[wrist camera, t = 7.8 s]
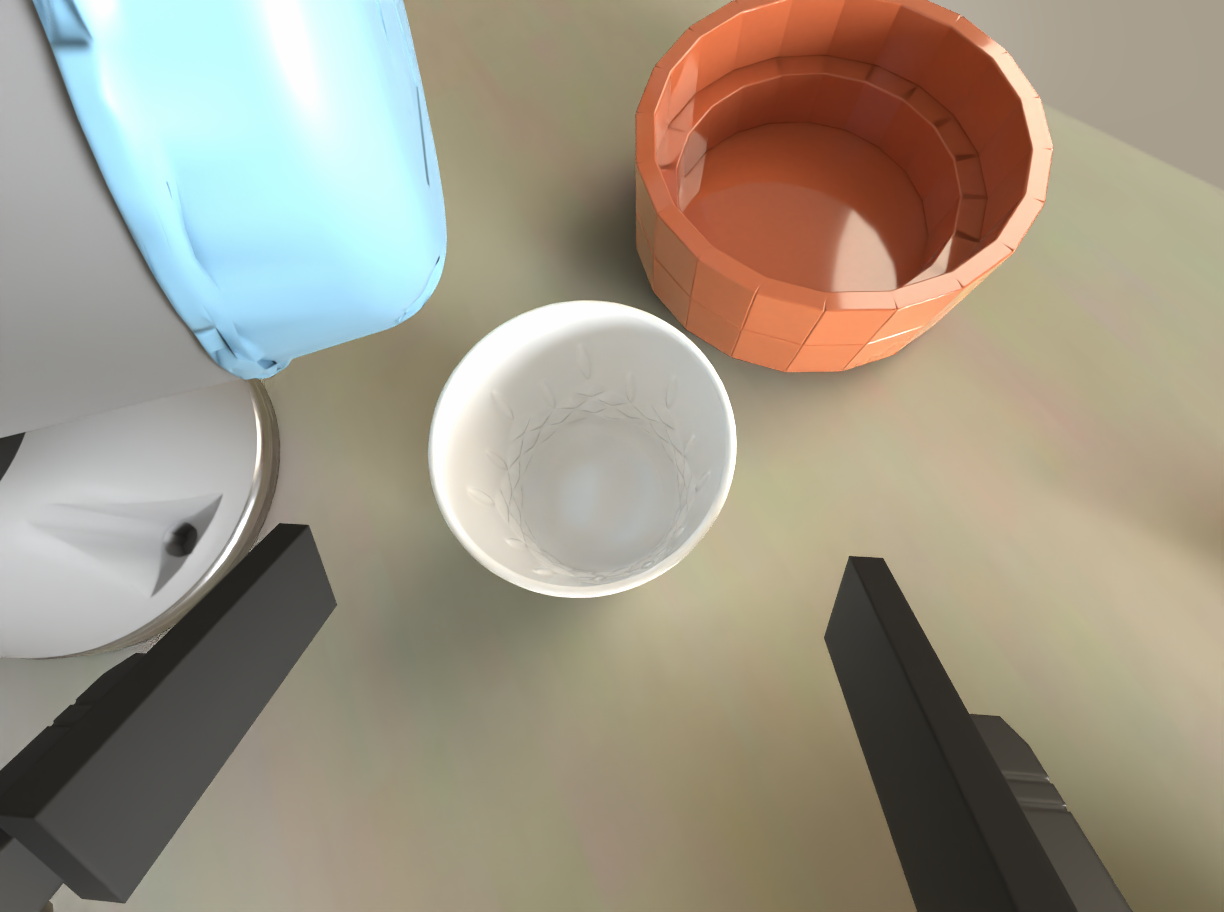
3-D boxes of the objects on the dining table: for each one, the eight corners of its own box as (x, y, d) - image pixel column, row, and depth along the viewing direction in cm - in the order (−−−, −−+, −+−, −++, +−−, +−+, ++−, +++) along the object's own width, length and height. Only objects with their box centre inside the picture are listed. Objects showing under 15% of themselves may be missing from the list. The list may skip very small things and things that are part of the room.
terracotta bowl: (698, 422, 24) (718, 366, 18) (597, 157, 28) (586, 41, 22) (1017, 320, 24) (1136, 234, 18) (872, 75, 28) (932, -60, 22)
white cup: (567, 631, 22) (511, 662, 12) (485, 471, 24) (379, 385, 14) (729, 537, 22) (799, 493, 13) (636, 388, 24) (636, 252, 15)
